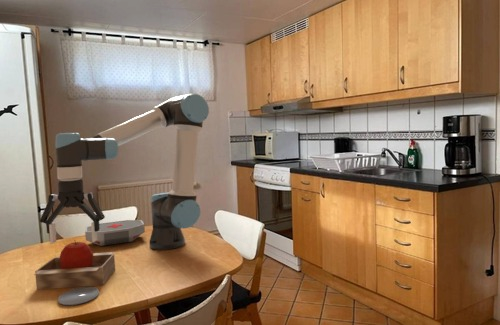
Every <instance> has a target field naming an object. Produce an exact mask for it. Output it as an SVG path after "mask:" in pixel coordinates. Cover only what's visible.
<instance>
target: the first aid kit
mask: <svg viewBox="0 0 500 325" xmlns="http://www.w3.org/2000/svg"><path fill="white" fill-rule="evenodd" d="M99 227H100V229H99V231H97V240H96V241H95V242H92V228H91V225H89V226H86V227H84V230H85V232H84V234H85V241H87V242H90V243H92V244H95V245H97V246H99V247H104V246H109V245H110V246H111V245H117V244H124V243H132V242H133V241H135V240H136V239H137V238H139V237H140V236H142V235H143V234H145V232H146V230H145V223H144V221H143V220H142V219H125V220H118V221H117V220H115V221H109V222H108V221H107V222H99Z"/></svg>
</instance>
